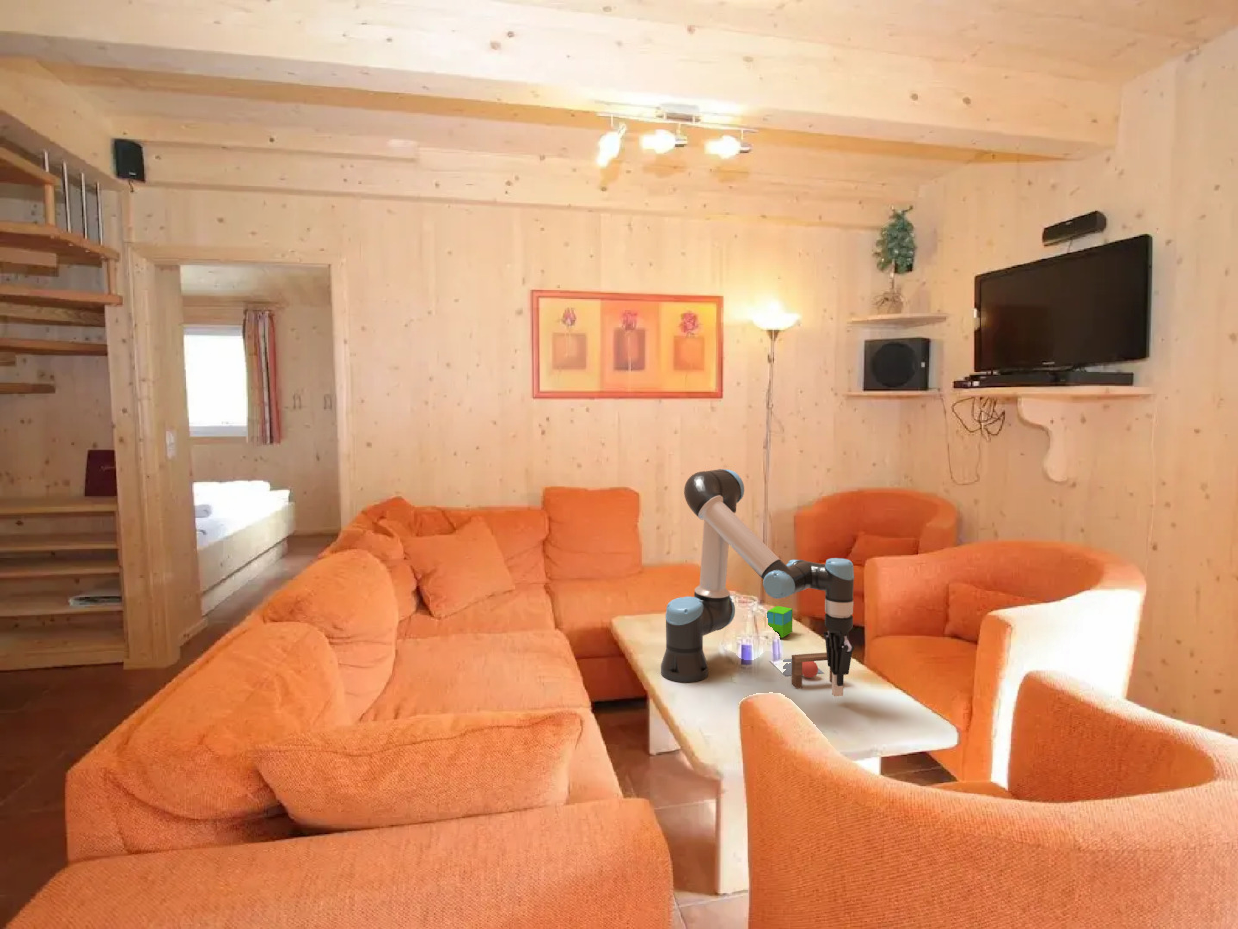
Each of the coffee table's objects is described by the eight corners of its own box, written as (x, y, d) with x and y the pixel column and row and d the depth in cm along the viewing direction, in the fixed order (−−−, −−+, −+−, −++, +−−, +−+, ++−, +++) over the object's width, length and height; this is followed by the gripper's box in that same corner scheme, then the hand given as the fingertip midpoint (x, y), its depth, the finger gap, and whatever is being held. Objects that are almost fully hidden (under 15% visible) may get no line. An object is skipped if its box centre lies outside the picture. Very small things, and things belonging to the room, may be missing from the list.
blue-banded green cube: (761, 627, 250) (761, 601, 250) (793, 634, 242) (793, 608, 241) (748, 634, 243) (748, 608, 242) (781, 641, 234) (781, 614, 233)
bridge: (840, 684, 196) (840, 655, 195) (795, 688, 194) (796, 658, 193) (835, 680, 199) (836, 651, 198) (791, 684, 196) (791, 655, 196)
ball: (805, 666, 198) (798, 656, 203) (803, 682, 199) (795, 671, 205) (822, 665, 199) (814, 655, 204) (819, 681, 200) (812, 670, 205)
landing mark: (785, 676, 203) (785, 675, 202) (769, 661, 215) (769, 660, 215) (823, 673, 205) (823, 672, 205) (805, 658, 217) (805, 657, 217)
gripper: (863, 620, 176) (861, 704, 177) (839, 606, 189) (838, 684, 190) (838, 622, 174) (836, 706, 176) (815, 608, 187) (814, 686, 189)
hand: (837, 695), depth 183 cm, fingers closed
